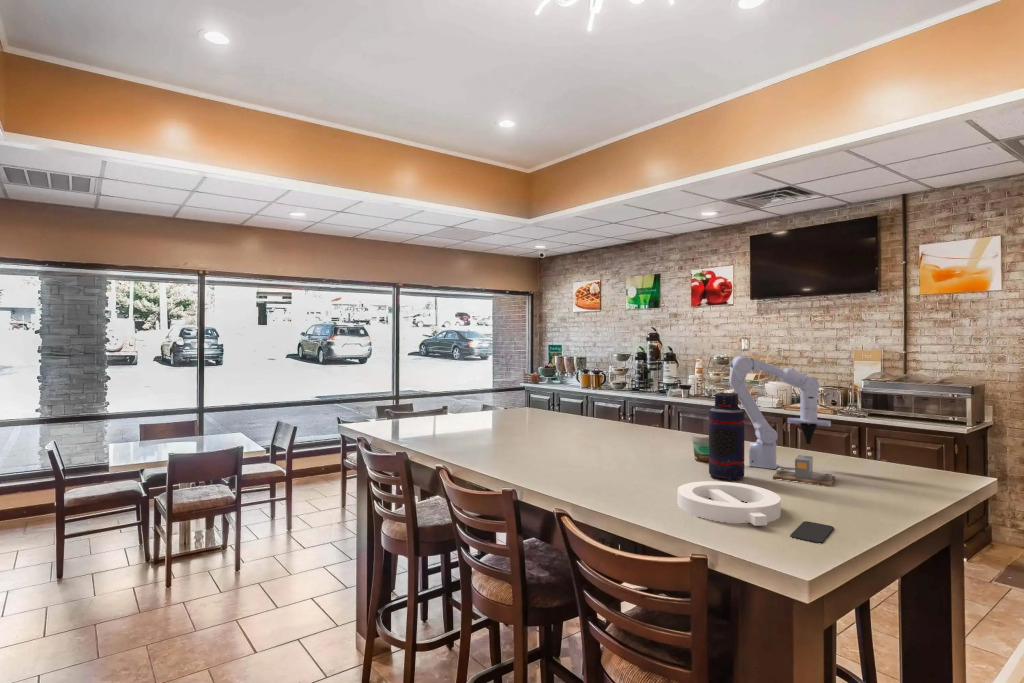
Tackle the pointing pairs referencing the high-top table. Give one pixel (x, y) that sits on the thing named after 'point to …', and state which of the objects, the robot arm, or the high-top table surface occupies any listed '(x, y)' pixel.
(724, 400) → the navy bottle
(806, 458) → the block
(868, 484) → the high-top table surface
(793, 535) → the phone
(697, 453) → the food container
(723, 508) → the ring with crossbar
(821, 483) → the rail board
